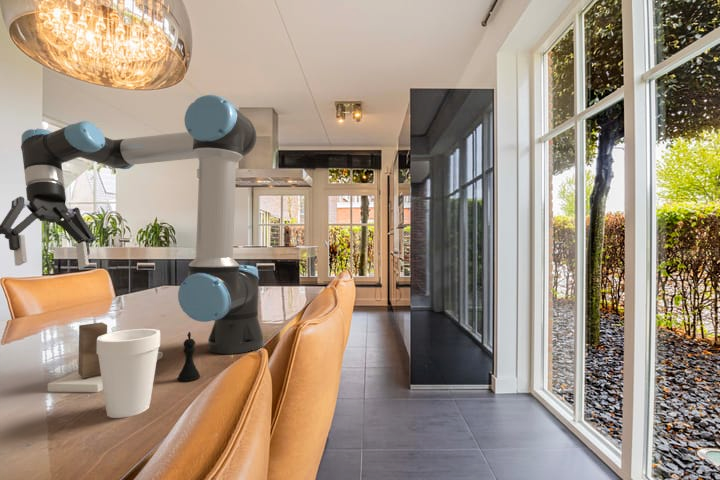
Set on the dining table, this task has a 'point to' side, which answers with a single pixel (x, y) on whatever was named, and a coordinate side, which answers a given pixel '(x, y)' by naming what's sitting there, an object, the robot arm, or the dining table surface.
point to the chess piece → (189, 362)
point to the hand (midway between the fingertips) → (54, 265)
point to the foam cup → (128, 370)
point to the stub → (89, 349)
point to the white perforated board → (80, 382)
